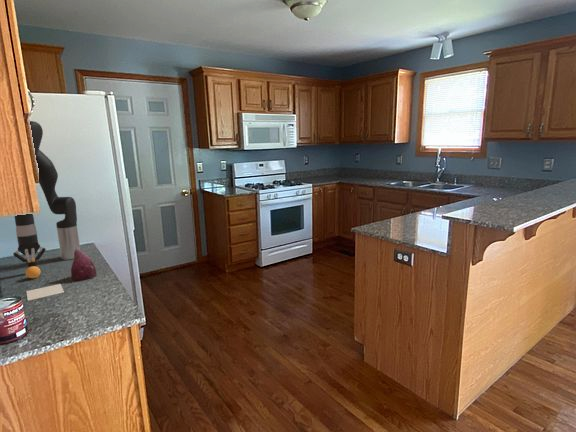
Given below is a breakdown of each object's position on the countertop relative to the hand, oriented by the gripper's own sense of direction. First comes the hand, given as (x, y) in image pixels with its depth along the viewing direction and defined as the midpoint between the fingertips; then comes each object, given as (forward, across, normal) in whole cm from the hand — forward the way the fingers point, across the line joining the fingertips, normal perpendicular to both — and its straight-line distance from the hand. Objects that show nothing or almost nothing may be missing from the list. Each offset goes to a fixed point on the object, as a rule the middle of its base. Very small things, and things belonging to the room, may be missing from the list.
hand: (32, 269), depth 166 cm
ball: (-1, 0, +9) cm, 9 cm away
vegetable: (+2, -18, +24) cm, 30 cm away
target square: (+2, -2, +33) cm, 33 cm away
